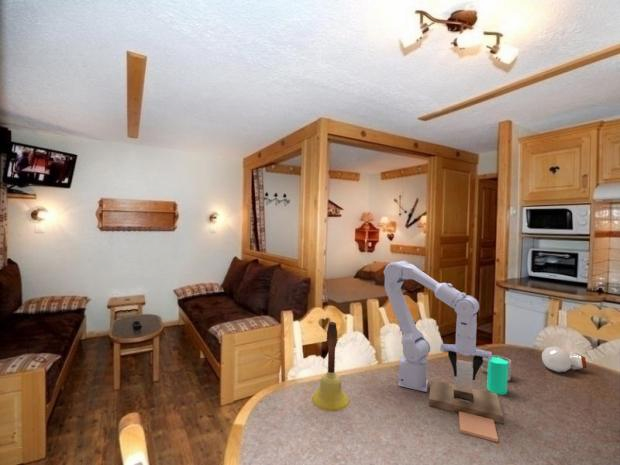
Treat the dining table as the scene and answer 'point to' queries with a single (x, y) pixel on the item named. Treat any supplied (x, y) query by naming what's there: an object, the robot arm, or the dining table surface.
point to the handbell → (331, 379)
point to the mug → (503, 359)
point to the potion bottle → (562, 359)
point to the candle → (497, 375)
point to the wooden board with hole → (481, 406)
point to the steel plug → (464, 376)
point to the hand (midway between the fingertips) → (464, 376)
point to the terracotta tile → (477, 426)
